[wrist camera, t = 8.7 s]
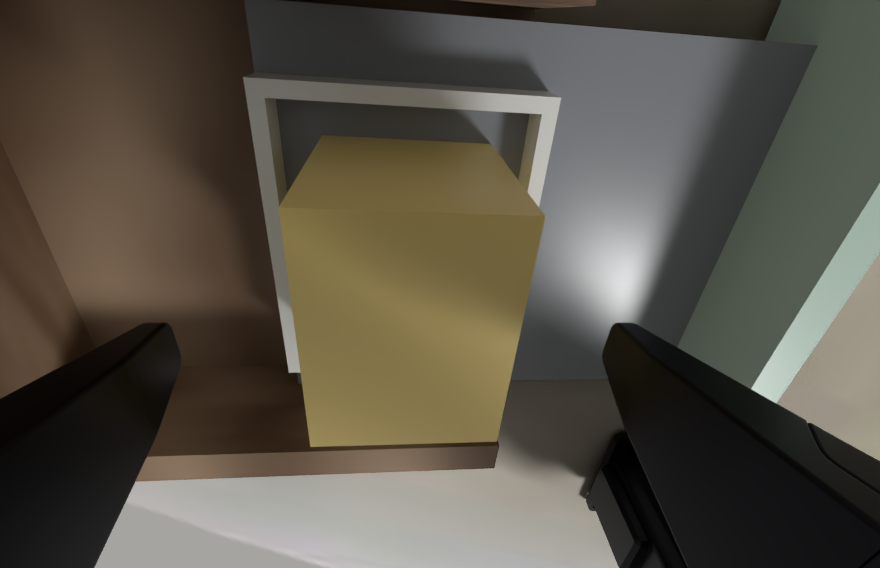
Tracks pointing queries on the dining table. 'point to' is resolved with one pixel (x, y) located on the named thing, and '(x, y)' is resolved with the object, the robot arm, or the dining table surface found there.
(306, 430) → the dock
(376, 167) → the mustard block
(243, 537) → the dining table surface
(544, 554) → the dining table surface
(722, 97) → the tray
